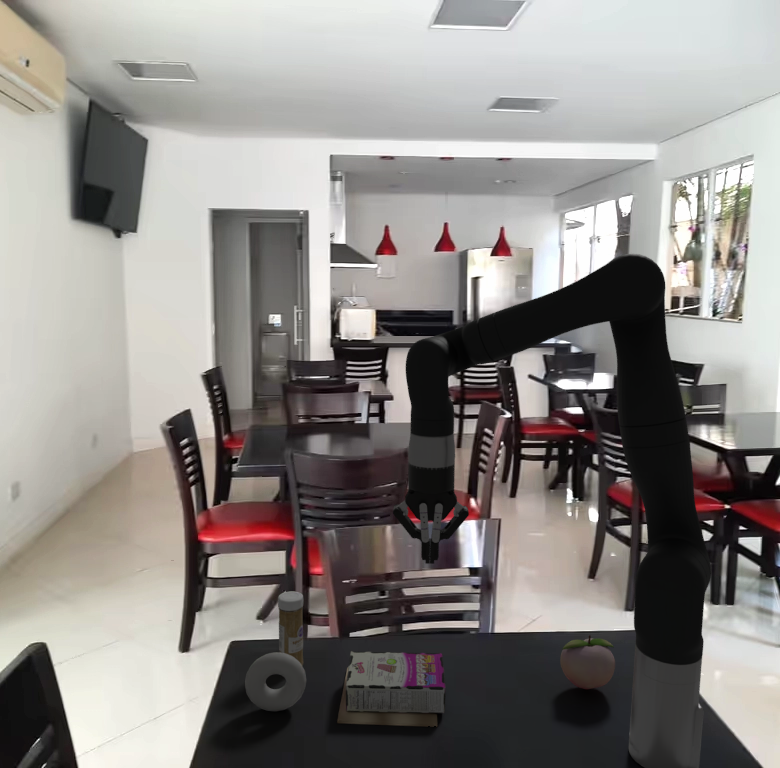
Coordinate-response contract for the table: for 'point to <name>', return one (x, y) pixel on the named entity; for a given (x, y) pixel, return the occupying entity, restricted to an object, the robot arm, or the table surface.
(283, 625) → the sprinkles bottle
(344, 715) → the oak mat
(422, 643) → the table surface
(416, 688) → the candy bar box
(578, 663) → the decorative fruit
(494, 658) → the table surface
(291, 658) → the donut
